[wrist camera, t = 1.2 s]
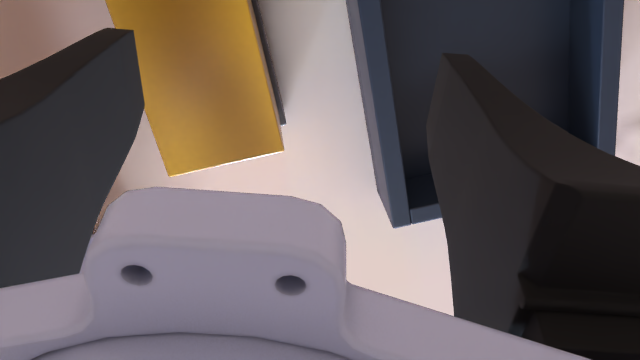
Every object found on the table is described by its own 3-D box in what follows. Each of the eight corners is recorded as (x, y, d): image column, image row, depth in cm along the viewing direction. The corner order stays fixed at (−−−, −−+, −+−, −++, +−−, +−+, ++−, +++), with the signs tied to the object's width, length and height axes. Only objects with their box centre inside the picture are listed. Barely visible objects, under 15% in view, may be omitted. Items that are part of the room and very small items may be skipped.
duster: (180, 138, 25) (167, 191, 21) (82, -151, 20) (39, -157, 16) (284, 114, 25) (293, 163, 21) (214, -180, 20) (207, -194, 16)
